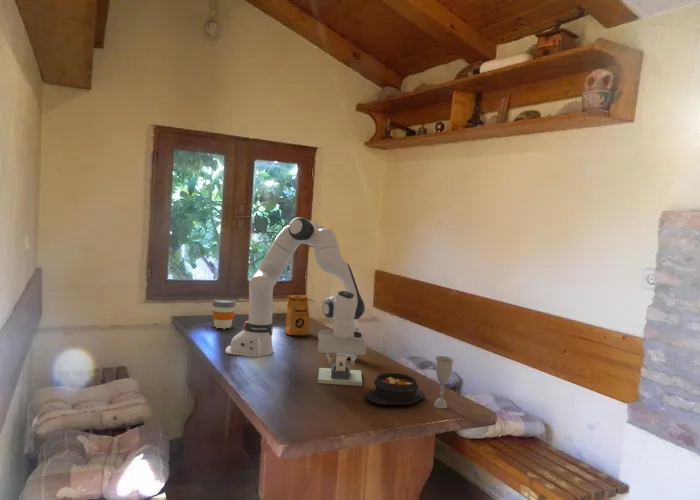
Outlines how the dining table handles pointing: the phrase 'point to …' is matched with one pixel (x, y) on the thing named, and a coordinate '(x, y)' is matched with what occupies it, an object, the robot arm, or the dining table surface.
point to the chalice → (443, 377)
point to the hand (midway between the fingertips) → (340, 363)
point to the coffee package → (297, 315)
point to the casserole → (395, 390)
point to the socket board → (340, 376)
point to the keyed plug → (340, 362)
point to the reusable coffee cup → (223, 312)
